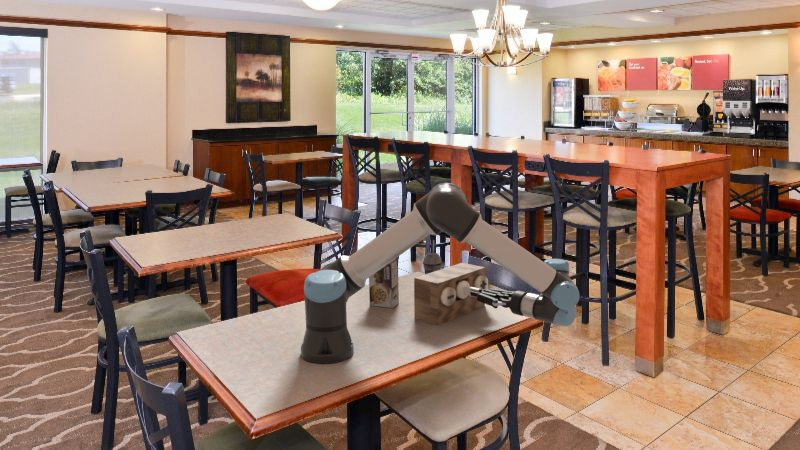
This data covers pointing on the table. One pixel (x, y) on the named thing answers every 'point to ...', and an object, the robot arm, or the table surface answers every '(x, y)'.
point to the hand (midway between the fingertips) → (465, 289)
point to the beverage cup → (432, 262)
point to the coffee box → (385, 286)
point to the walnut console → (446, 293)
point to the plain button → (461, 289)
